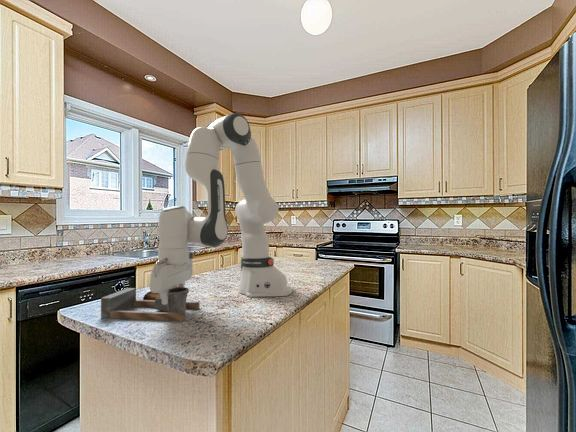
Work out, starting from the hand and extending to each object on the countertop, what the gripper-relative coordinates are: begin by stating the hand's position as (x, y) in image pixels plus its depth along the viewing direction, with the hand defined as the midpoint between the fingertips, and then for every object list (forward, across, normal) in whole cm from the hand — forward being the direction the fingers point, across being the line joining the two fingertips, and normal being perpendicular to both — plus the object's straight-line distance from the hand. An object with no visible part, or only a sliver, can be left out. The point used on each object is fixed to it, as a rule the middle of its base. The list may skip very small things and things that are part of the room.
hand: (172, 299), depth 92 cm
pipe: (+5, 0, +1) cm, 5 cm away
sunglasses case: (+5, +18, +12) cm, 22 cm away
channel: (+4, 0, +7) cm, 8 cm away
